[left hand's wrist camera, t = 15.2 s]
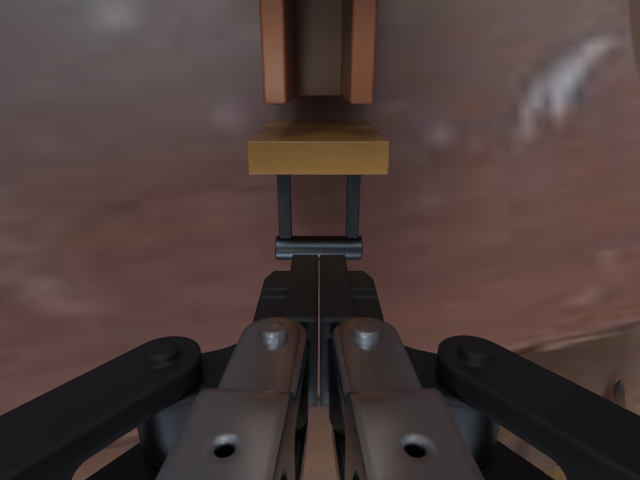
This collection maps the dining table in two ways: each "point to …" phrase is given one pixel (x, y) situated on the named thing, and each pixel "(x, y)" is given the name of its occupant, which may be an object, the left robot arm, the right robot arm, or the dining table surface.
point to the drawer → (318, 135)
